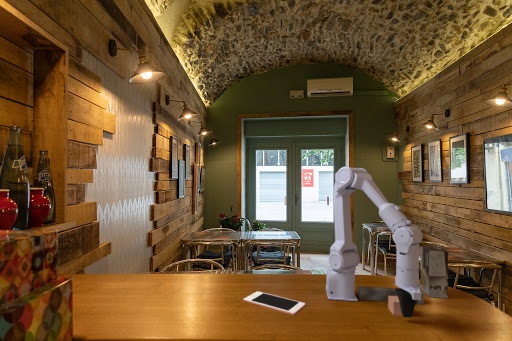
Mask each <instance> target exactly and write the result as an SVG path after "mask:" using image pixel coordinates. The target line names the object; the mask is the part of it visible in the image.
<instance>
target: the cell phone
mask: <svg viewBox="0 0 512 341" xmlns="http://www.w3.org/2000/svg"><path fill="white" fill-rule="evenodd" d="M243 302H247V303H249V304H254V305H255V306H256V305H257V306H260V307H263V308H268V309H271V310H275V311H277V312H281V313H285V314H288V315H292V316H294V315H297V313H299V312H300V311H301V310H302V309H303V308H305V306H306V303H305V302H302V301H298V300H294V299H290V298H286V297H282V296H279V295H274V294H270V293H266V292H263V291H258V290H257V291H255V292H253V293H251V294H250V295H248V296H246V297H245V298H243Z"/></svg>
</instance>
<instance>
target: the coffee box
mask: <svg viewBox="0 0 512 341" xmlns="http://www.w3.org/2000/svg"><path fill="white" fill-rule="evenodd" d="M419 272H420V273H419V275H420V278H419V282H420V284H422V285H423V288H420V290H421V291H423V293H424V294H425V295H426V296H428V297H430V298H439V299H449V250H446V249H443V248H441V247H440V246H433V245H419Z"/></svg>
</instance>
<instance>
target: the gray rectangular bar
mask: <svg viewBox="0 0 512 341" xmlns="http://www.w3.org/2000/svg"><path fill="white" fill-rule="evenodd" d="M395 288H396V287H395ZM395 288H394V287H381V286H366V285H365V286H364V285H357V297H358V299H359V300H363V301H377V302H388V296H397V293H396V291H395ZM420 292H421V300H418V301H417V303H416V305H424V291H423V292H422V290H420Z"/></svg>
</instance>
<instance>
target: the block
mask: <svg viewBox="0 0 512 341" xmlns="http://www.w3.org/2000/svg"><path fill="white" fill-rule="evenodd" d="M387 303H388V304H387V308H388V310H389V311H390V313H391V314H392V315H393V316H401V317H404V316H403V315H402V312H401V307H400V302H399V299H398V296H388V301H387Z"/></svg>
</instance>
